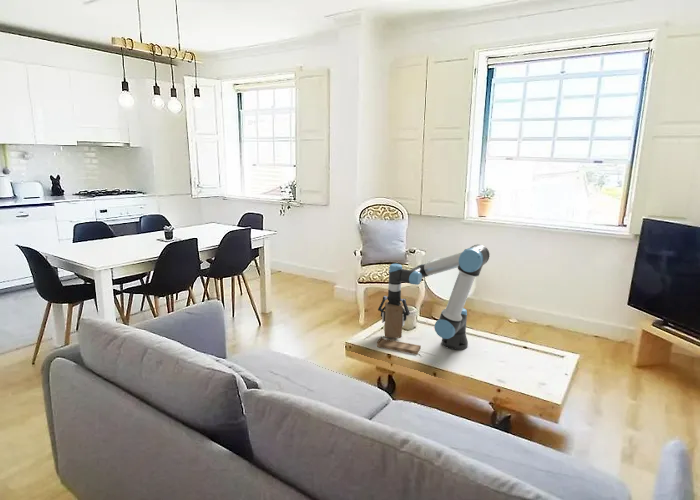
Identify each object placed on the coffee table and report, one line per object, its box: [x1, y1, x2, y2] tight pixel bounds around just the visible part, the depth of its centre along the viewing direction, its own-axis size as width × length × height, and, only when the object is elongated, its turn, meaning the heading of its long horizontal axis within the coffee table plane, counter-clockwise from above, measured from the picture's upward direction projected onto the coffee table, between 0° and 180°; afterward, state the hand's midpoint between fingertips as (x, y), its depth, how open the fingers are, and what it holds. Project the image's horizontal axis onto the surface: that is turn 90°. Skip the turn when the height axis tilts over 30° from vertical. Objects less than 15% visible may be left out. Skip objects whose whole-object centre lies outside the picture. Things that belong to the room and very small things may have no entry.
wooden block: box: [383, 301, 404, 339], centre depth 267 cm, size 10×10×20 cm
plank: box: [376, 336, 422, 355], centre depth 257 cm, size 24×8×3 cm, turn 67°
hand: (393, 323), depth 267 cm, fingers closed on wooden block, 12 cm apart
